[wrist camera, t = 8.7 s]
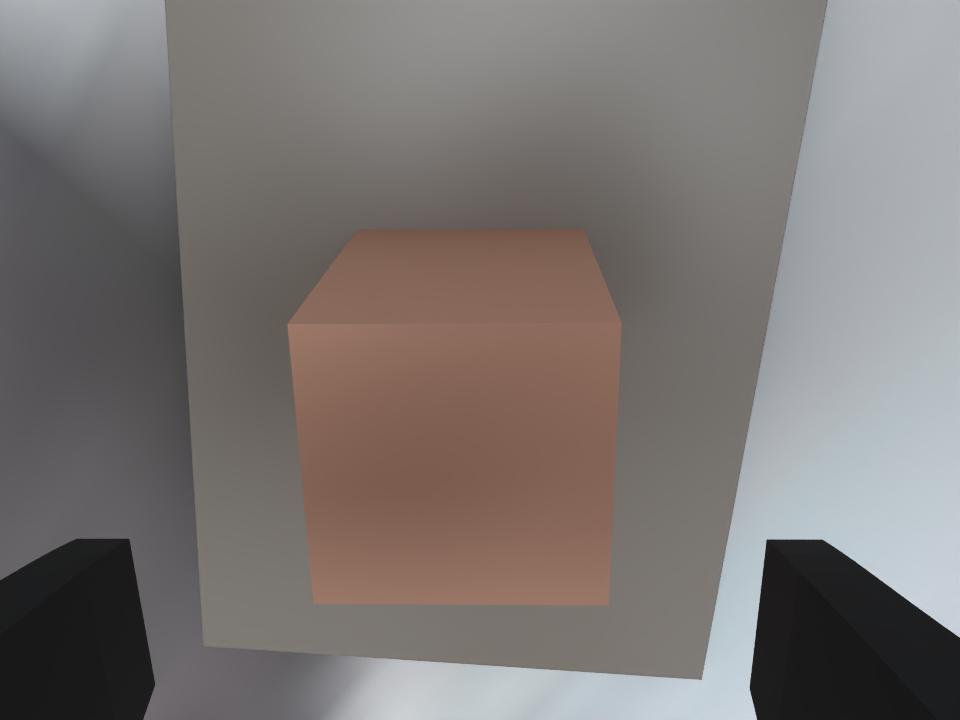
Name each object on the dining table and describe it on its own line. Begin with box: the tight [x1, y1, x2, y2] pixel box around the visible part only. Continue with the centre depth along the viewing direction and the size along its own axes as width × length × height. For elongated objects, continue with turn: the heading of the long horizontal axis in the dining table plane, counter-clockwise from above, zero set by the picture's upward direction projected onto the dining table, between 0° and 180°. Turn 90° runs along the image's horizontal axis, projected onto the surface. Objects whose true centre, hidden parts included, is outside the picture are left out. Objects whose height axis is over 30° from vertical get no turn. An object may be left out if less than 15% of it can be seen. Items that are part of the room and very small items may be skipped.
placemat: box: [165, 0, 828, 680], centre depth 19 cm, size 12×16×1 cm
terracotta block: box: [287, 229, 622, 605], centre depth 15 cm, size 4×4×6 cm
